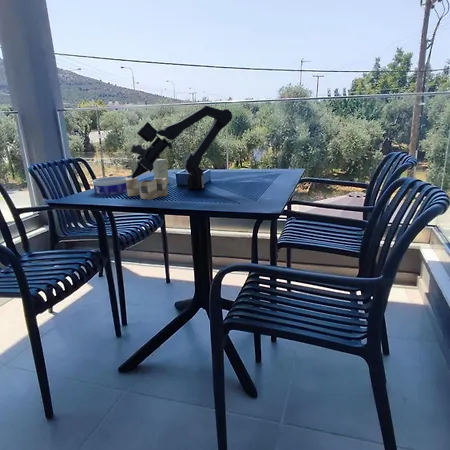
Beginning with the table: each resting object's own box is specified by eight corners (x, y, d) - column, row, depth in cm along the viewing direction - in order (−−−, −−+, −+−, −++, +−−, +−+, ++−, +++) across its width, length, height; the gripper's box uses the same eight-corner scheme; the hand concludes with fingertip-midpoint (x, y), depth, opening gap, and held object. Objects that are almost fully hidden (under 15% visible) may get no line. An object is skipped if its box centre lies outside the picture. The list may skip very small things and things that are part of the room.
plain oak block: (139, 193, 159) (137, 177, 157) (139, 195, 155) (137, 179, 153) (127, 194, 158) (125, 178, 156) (127, 196, 153) (125, 180, 151)
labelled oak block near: (157, 196, 150) (156, 179, 148) (150, 199, 145) (148, 182, 143) (148, 196, 152) (146, 179, 150) (140, 198, 147) (138, 181, 145)
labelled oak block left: (168, 193, 155) (166, 177, 153) (165, 196, 150) (163, 179, 148) (156, 194, 155) (155, 177, 153) (153, 196, 150) (151, 179, 148)
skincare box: (160, 185, 174) (157, 160, 171) (154, 184, 177) (151, 160, 173) (169, 183, 179) (167, 158, 175) (163, 182, 182) (161, 158, 178)
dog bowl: (87, 194, 161) (85, 181, 160) (108, 188, 175) (107, 175, 173) (115, 195, 156) (113, 182, 154) (135, 188, 170) (133, 176, 168)
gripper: (139, 136, 159) (116, 162, 160) (142, 138, 142) (117, 168, 142) (158, 152, 164) (136, 178, 164) (163, 156, 146) (139, 185, 147)
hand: (132, 177), depth 154 cm, fingers closed
